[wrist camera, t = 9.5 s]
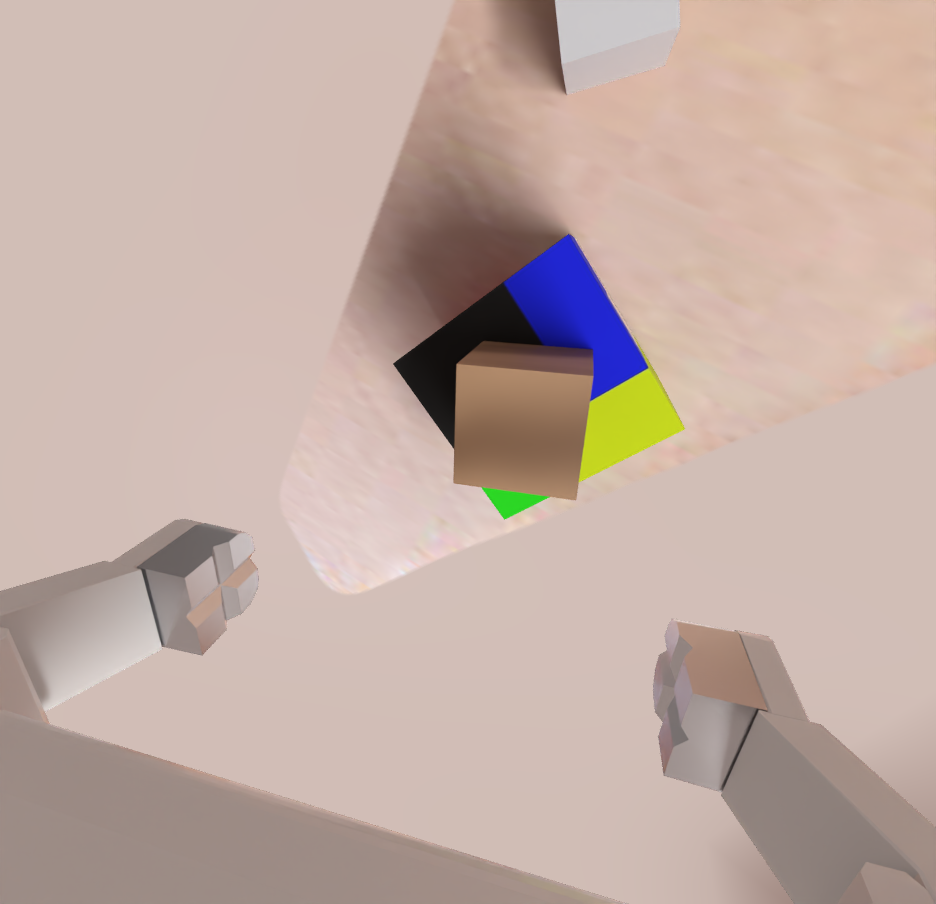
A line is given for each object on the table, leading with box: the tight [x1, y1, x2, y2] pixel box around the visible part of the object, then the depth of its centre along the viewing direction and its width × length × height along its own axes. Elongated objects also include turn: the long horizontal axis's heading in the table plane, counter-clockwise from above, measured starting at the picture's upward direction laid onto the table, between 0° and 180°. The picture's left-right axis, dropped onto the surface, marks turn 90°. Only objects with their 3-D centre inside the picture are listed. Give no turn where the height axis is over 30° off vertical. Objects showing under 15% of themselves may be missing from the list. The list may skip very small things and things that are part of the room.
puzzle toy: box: [393, 234, 685, 520], centre depth 28 cm, size 10×10×10 cm
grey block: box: [555, 0, 680, 95], centre depth 23 cm, size 5×5×5 cm
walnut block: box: [454, 341, 593, 500], centre depth 21 cm, size 5×5×5 cm
